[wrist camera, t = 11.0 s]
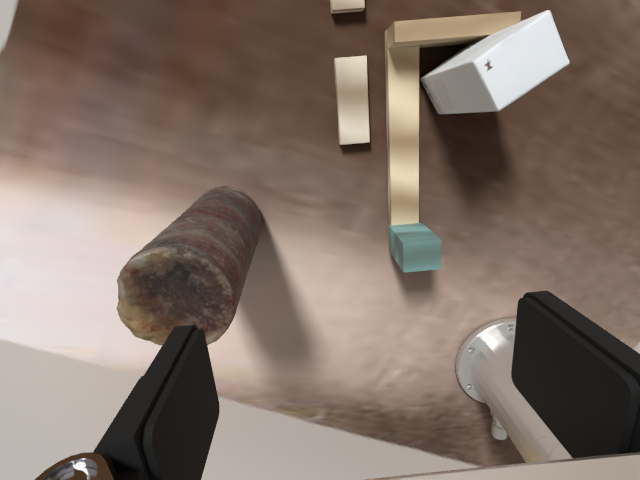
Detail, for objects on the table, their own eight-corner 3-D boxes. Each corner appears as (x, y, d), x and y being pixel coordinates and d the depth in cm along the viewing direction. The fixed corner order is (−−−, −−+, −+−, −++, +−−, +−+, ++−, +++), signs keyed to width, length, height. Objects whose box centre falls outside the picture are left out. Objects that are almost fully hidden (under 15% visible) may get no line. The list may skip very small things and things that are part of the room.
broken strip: (367, 141, 38) (369, 142, 37) (339, 144, 38) (340, 144, 37) (357, -122, 32) (359, -130, 30) (322, -119, 32) (323, -128, 30)
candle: (276, 206, 40) (254, 284, 21) (247, 261, 42) (202, 378, 23) (212, 172, 39) (126, 222, 20) (184, 231, 41) (81, 328, 22)
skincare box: (438, 116, 38) (496, 114, 27) (418, 79, 37) (470, 60, 25) (490, 81, 37) (573, 63, 26) (471, 41, 36) (550, 5, 25)
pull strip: (484, 238, 42) (519, 261, 35) (386, 247, 42) (403, 272, 35) (497, 23, 35) (544, -1, 29) (381, 32, 35) (400, 11, 28)
